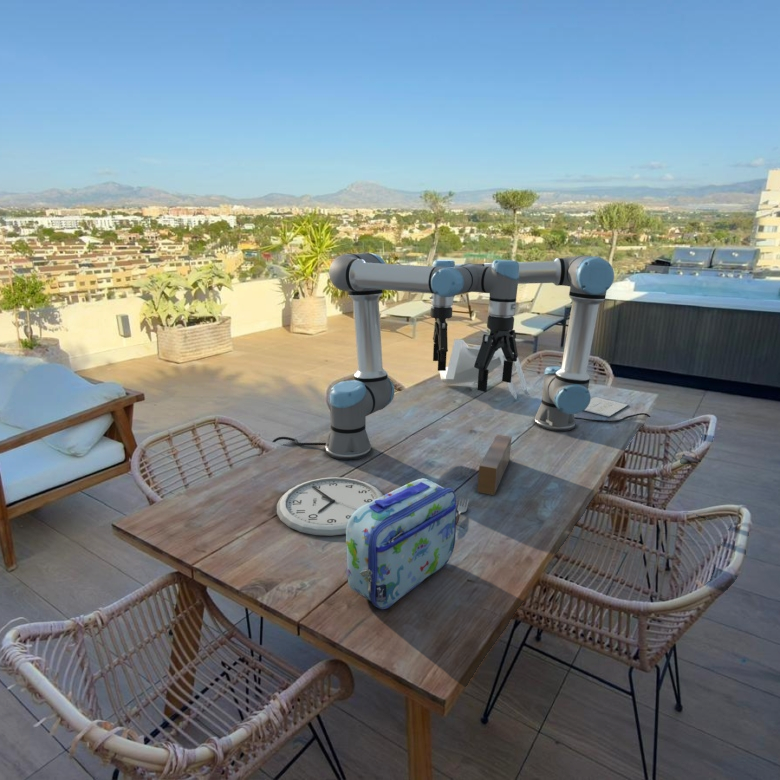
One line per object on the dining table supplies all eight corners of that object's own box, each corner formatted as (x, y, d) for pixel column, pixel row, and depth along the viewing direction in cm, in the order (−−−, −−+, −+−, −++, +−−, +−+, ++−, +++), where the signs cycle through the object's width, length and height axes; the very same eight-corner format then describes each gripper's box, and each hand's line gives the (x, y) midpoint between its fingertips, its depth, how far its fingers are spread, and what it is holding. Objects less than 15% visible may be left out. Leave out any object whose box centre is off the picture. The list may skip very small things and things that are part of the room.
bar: (494, 457, 174) (496, 434, 172) (509, 460, 173) (511, 436, 170) (477, 491, 151) (479, 465, 149) (494, 495, 150) (496, 468, 147)
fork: (445, 533, 130) (445, 526, 130) (459, 503, 145) (460, 496, 144) (455, 535, 130) (456, 528, 129) (469, 504, 144) (469, 498, 143)
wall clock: (392, 527, 129) (268, 531, 127) (391, 533, 130) (269, 537, 127) (383, 473, 158) (282, 475, 155) (383, 478, 158) (282, 480, 156)
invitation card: (608, 416, 214) (573, 407, 224) (608, 416, 214) (573, 408, 224) (628, 404, 229) (594, 396, 238) (628, 405, 229) (594, 397, 238)
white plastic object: (461, 429, 252) (437, 405, 227) (444, 352, 274) (420, 323, 250) (535, 404, 240) (518, 377, 215) (510, 326, 262) (492, 293, 237)
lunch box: (375, 622, 100) (376, 527, 94) (339, 595, 108) (338, 505, 101) (459, 565, 118) (465, 481, 112) (424, 545, 125) (427, 465, 119)
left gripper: (488, 322, 139) (481, 398, 145) (534, 312, 156) (526, 380, 163) (465, 318, 144) (459, 391, 150) (512, 309, 161) (505, 375, 168)
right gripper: (426, 300, 192) (425, 357, 198) (435, 311, 168) (432, 374, 175) (447, 301, 192) (444, 357, 199) (458, 311, 169) (455, 375, 175)
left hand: (494, 386), depth 156 cm, fingers open, 13 cm apart
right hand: (439, 365), depth 187 cm, fingers open, 13 cm apart
